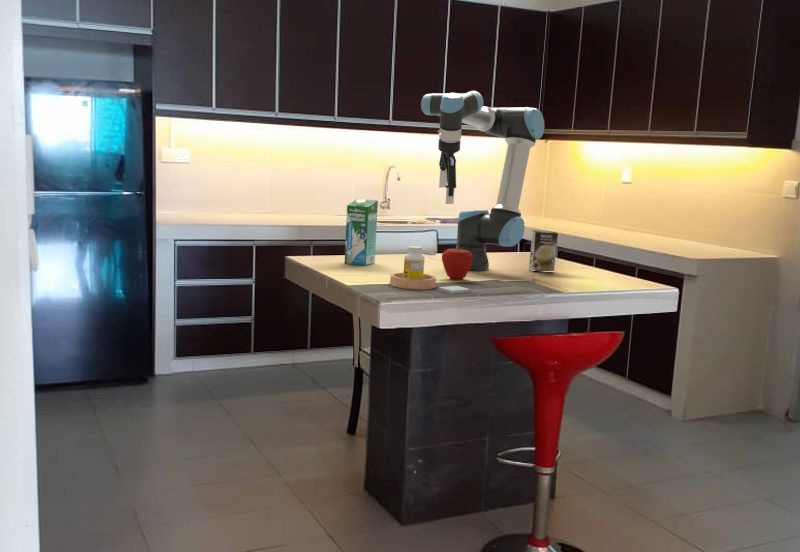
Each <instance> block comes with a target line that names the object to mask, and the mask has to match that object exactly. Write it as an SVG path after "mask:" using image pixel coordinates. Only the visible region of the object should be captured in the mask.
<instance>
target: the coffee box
mask: <svg viewBox="0 0 800 552" xmlns="http://www.w3.org/2000/svg"><path fill="white" fill-rule="evenodd" d="M558 235H559V233H558V232H556V231H546V230H532V236H531V243H530V244H531V246H530V255H529V264H528V270H529V269H531V270H535V271H554V272H555V267H556V266H555V265H556V255H557V247H558Z"/></svg>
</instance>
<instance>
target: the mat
mask: <svg viewBox="0 0 800 552" xmlns="http://www.w3.org/2000/svg"><path fill="white" fill-rule="evenodd" d="M430 290H432V291H434V292H437V293H440V294H443V295H446V296H448V295H453V294H450V293H446V292H443V291H439V288H438V289H437V288H436V289H435V288H432V289H430ZM467 294H468V295H470V294H477V292H475V291H472V290H470V292H467V293H455V294H454V295H467Z"/></svg>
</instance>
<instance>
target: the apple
mask: <svg viewBox="0 0 800 552" xmlns="http://www.w3.org/2000/svg"><path fill="white" fill-rule="evenodd" d="M441 262H442V264H443V268H444V271H445V274H446V276H447V277H448V278H449V279H450V280H455V281H457V280H458V281H461V280H464V279H465V277H466V276H467V274H468V272H469V271H470V270H469V269H470V267H471V264H472V262H473V256H472V254H471V253H470V251H467V250H463V249H459V247H458V249H456V248H448V249H445V250H444V251H443V252H442V254H441Z"/></svg>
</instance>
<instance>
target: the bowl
mask: <svg viewBox="0 0 800 552" xmlns="http://www.w3.org/2000/svg"><path fill="white" fill-rule="evenodd" d="M403 274H404V272H395V273H391V274H390V281H389V285H390V286H392V287H395V288H399V289H407V290H431V289H435V288H436V286H437V277H436V276H435V275H431V274H428V273H424V274H423V279H421V280H417V279H405V278H403Z"/></svg>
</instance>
